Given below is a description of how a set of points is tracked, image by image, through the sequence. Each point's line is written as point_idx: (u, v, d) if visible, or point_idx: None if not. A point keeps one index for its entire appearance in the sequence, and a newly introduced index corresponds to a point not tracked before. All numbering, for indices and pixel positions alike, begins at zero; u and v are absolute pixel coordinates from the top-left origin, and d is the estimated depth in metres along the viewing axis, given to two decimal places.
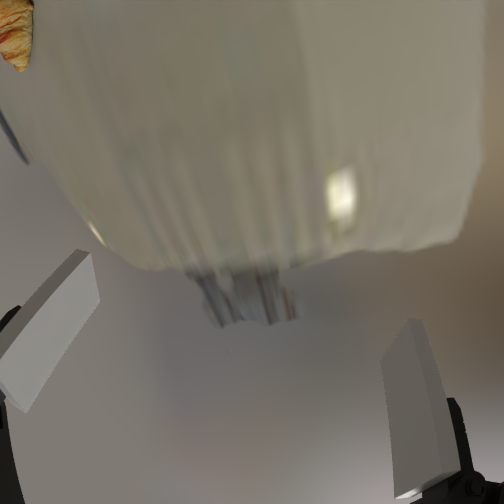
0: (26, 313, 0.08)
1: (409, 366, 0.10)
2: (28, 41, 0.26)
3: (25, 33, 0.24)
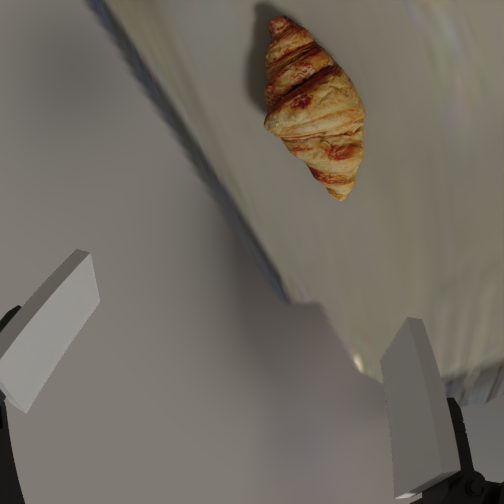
0: (26, 313, 0.08)
1: (410, 366, 0.10)
2: None
3: None
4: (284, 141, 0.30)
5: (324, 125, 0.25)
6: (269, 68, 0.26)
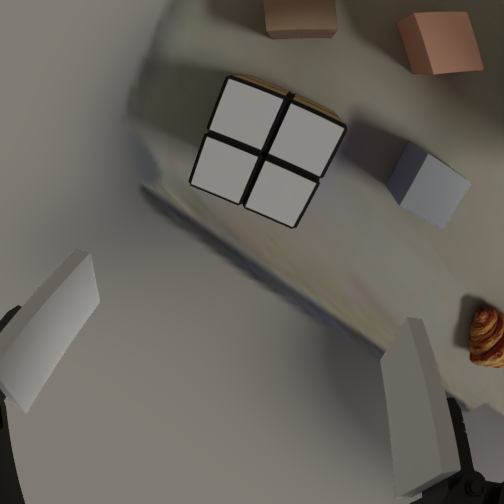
0: (26, 313, 0.08)
1: (409, 366, 0.10)
2: None
3: None
4: None
5: None
6: (477, 338, 0.38)
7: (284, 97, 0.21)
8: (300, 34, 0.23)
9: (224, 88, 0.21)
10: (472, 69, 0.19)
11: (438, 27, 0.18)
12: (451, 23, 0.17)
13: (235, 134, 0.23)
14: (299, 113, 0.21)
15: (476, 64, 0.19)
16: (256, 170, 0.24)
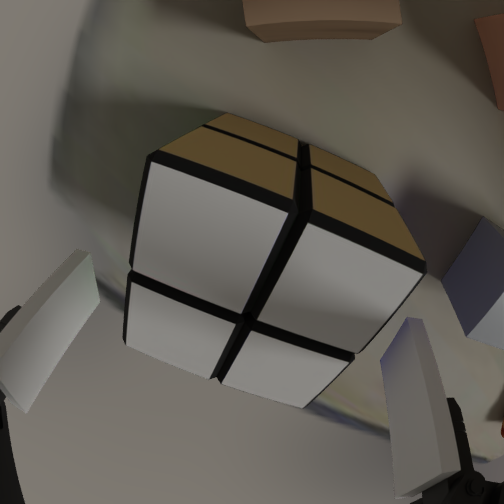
0: (26, 313, 0.08)
1: (409, 366, 0.10)
2: None
3: None
4: None
5: None
6: None
7: (291, 205, 0.09)
8: (318, 32, 0.12)
9: (145, 185, 0.09)
10: None
11: None
12: None
13: (184, 283, 0.11)
14: (328, 245, 0.09)
15: None
16: (235, 339, 0.13)
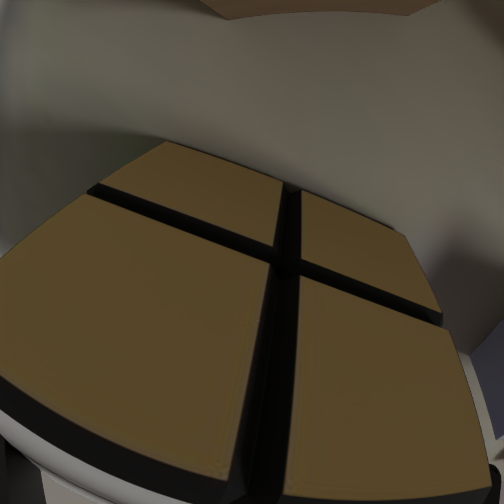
0: None
1: None
2: None
3: None
4: None
5: None
6: None
7: (224, 492, 0.03)
8: None
9: None
10: None
11: None
12: None
13: (79, 485, 0.05)
14: None
15: None
16: None
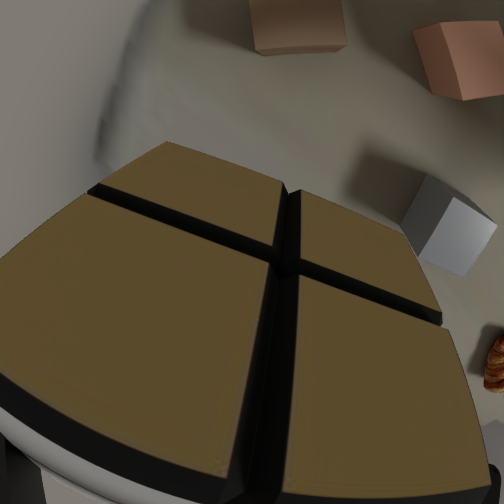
0: None
1: None
2: None
3: None
4: None
5: None
6: (494, 366, 0.34)
7: (223, 489, 0.03)
8: (298, 50, 0.19)
9: None
10: None
11: (468, 40, 0.14)
12: (481, 35, 0.13)
13: (80, 484, 0.05)
14: None
15: None
16: None
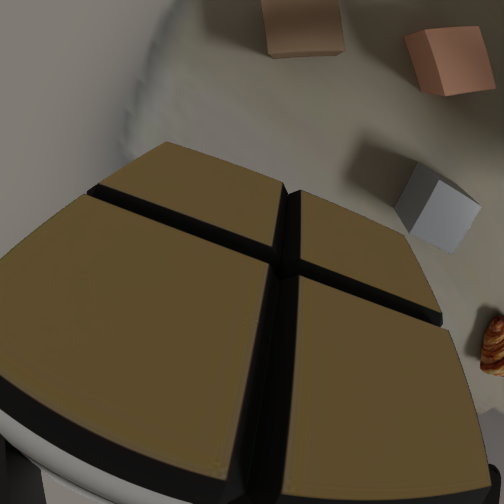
0: None
1: None
2: None
3: None
4: None
5: None
6: (490, 347, 0.37)
7: (222, 491, 0.03)
8: (304, 54, 0.23)
9: None
10: (484, 88, 0.18)
11: (450, 44, 0.17)
12: (462, 39, 0.16)
13: (79, 485, 0.05)
14: None
15: (489, 83, 0.18)
16: None
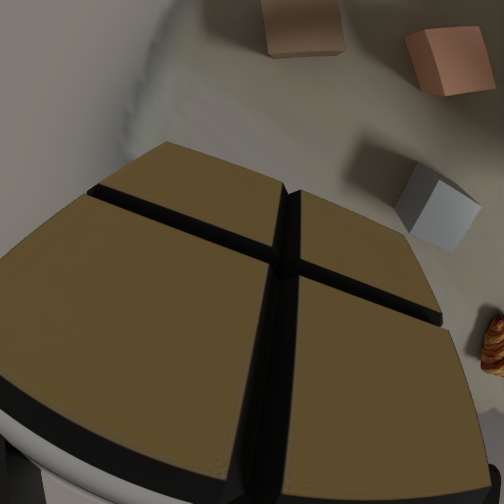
0: None
1: None
2: None
3: None
4: None
5: None
6: (491, 346, 0.37)
7: (222, 491, 0.03)
8: (304, 54, 0.23)
9: None
10: (484, 88, 0.18)
11: (450, 44, 0.17)
12: (462, 39, 0.16)
13: (79, 485, 0.05)
14: None
15: (489, 83, 0.18)
16: None
